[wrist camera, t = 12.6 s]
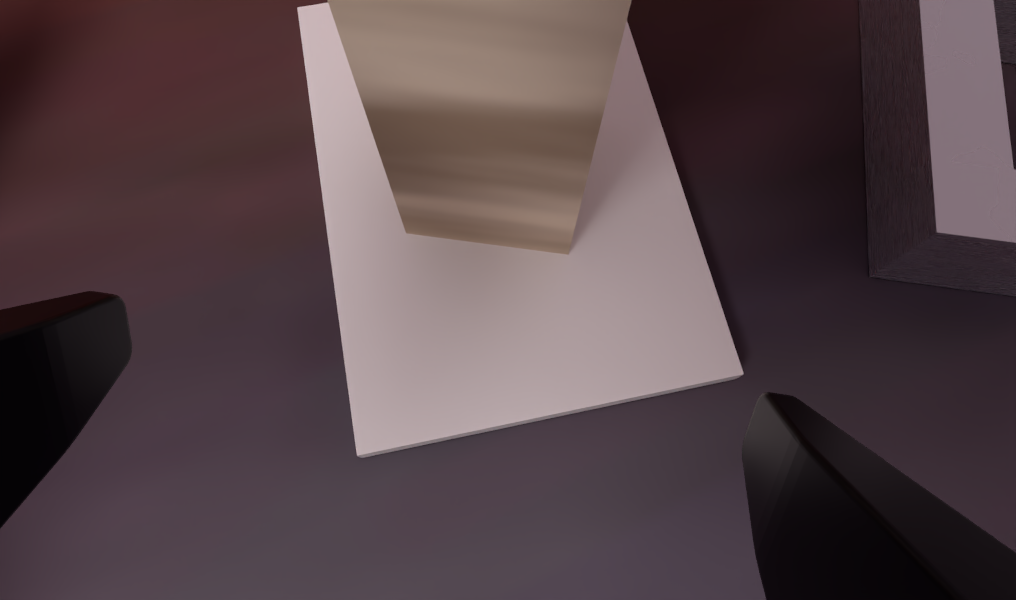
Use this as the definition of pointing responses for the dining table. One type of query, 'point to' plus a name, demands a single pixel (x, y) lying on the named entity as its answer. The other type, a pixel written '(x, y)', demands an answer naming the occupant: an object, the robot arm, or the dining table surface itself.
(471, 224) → the wooden peg
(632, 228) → the tile
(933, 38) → the socket
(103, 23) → the dining table surface
